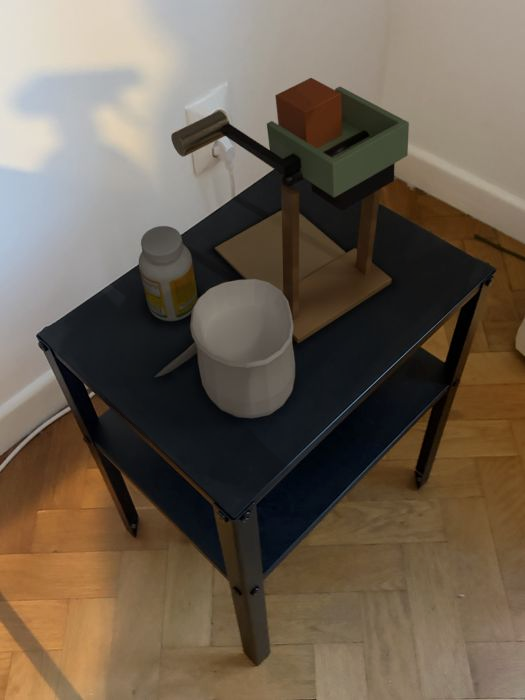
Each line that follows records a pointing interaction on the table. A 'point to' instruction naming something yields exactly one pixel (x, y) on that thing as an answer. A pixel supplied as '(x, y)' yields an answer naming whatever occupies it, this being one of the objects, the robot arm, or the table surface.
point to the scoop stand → (328, 271)
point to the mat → (277, 250)
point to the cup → (245, 347)
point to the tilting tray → (320, 150)
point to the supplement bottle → (167, 274)
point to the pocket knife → (179, 360)
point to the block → (310, 112)
